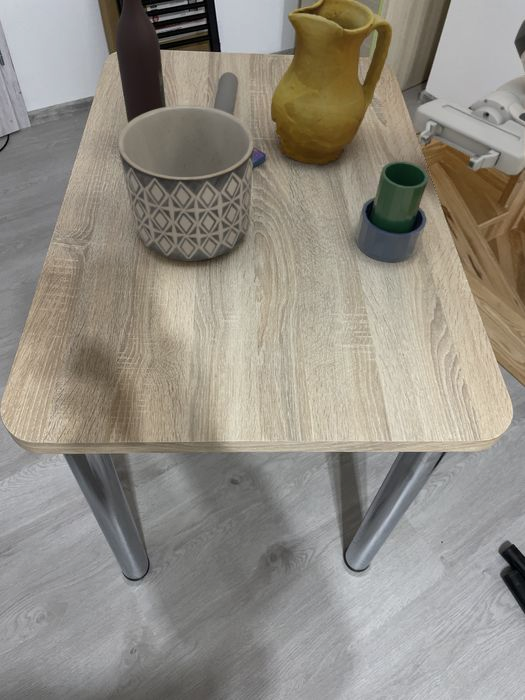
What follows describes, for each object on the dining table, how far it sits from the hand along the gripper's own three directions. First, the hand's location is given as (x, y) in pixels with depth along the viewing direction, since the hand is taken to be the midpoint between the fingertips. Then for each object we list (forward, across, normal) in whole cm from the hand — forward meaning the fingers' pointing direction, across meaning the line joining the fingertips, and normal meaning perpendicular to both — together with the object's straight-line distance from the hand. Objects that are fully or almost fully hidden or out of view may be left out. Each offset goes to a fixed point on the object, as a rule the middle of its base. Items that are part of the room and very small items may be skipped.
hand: (446, 152), depth 86 cm
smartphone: (+17, -33, +12) cm, 39 cm away
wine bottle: (+25, -46, +12) cm, 54 cm away
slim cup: (+12, 0, +11) cm, 16 cm away
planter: (+34, -24, +12) cm, 43 cm away
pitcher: (-1, -26, +12) cm, 29 cm away
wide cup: (+12, 0, +12) cm, 17 cm away
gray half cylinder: (+1, -52, +12) cm, 53 cm away
